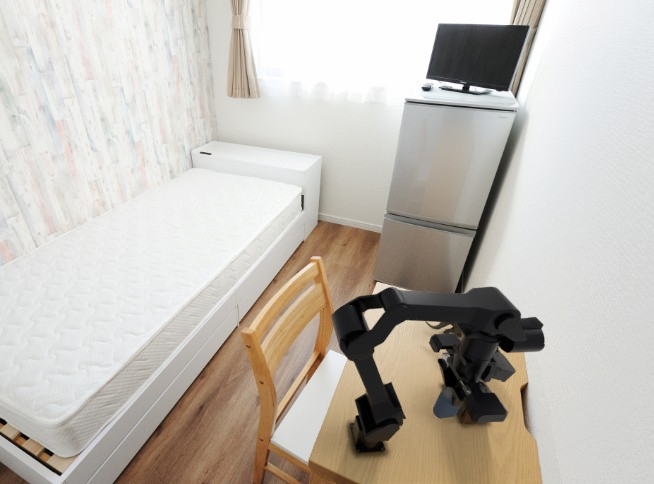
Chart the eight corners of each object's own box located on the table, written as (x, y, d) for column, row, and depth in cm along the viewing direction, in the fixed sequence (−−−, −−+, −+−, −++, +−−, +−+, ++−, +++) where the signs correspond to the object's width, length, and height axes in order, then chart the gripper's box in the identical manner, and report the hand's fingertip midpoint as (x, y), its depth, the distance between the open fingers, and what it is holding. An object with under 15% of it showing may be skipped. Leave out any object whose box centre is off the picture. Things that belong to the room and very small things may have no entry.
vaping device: (458, 416, 75) (477, 382, 69) (436, 420, 74) (452, 386, 68) (451, 405, 77) (469, 371, 71) (429, 408, 76) (445, 374, 70)
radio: (461, 423, 82) (473, 400, 77) (441, 386, 90) (451, 363, 86) (486, 422, 82) (499, 399, 78) (464, 385, 91) (475, 362, 87)
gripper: (553, 391, 58) (516, 443, 66) (487, 312, 74) (464, 361, 82) (489, 393, 57) (460, 445, 65) (437, 313, 73) (419, 363, 81)
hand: (451, 399), depth 73 cm, fingers closed on vaping device, 2 cm apart
